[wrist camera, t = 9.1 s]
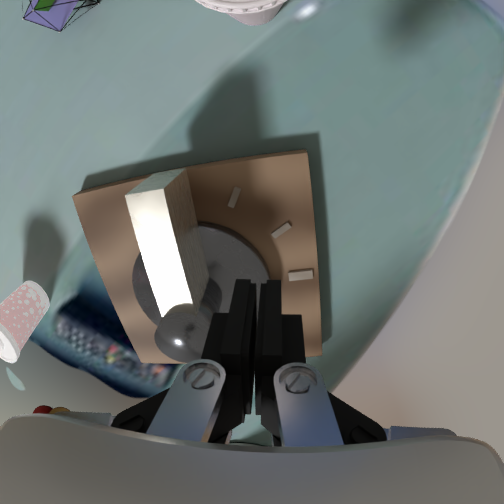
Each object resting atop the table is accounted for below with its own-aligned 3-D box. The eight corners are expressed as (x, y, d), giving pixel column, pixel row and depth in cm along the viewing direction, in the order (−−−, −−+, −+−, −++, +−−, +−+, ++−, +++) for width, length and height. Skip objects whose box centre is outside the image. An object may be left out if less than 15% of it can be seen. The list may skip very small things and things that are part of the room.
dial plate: (320, 345, 32) (322, 356, 31) (145, 353, 35) (141, 364, 34) (305, 149, 23) (307, 153, 22) (80, 190, 26) (70, 196, 25)
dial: (277, 332, 30) (276, 394, 23) (159, 336, 31) (136, 391, 25) (255, 154, 22) (246, 182, 16) (107, 179, 24) (56, 213, 17)
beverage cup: (37, 270, 31) (-35, 349, 19) (62, 313, 34) (3, 396, 21) (11, 279, 32) (-54, 349, 20) (35, 318, 35) (-20, 392, 22)
